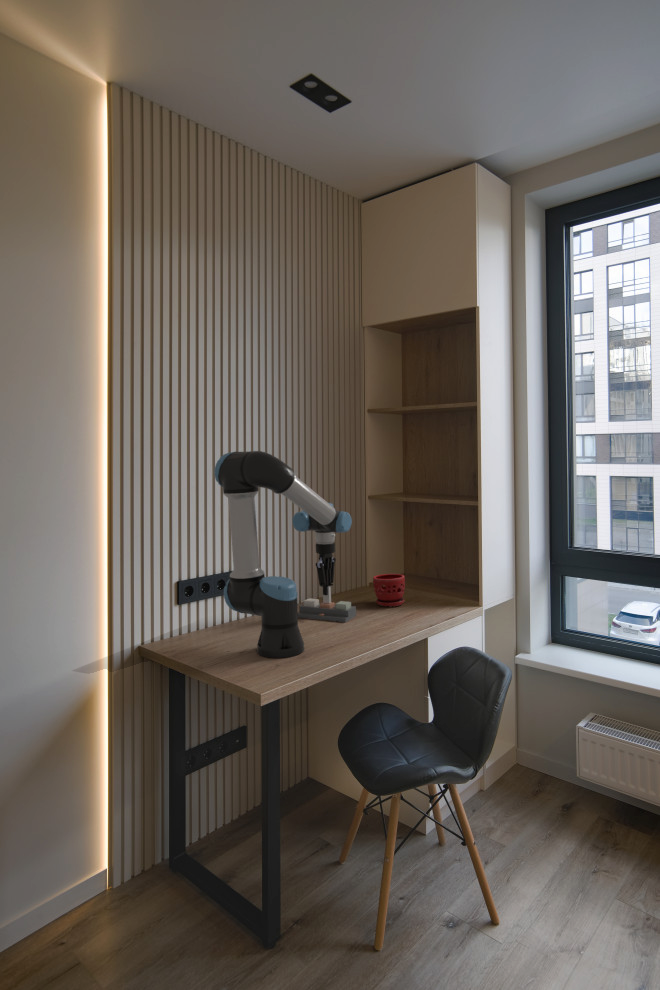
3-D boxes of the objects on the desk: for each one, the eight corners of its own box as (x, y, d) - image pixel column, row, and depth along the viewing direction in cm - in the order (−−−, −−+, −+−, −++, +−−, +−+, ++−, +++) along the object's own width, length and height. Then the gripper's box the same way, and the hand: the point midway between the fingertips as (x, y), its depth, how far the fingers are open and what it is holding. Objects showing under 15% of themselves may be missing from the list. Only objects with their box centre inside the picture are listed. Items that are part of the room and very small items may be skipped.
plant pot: (405, 600, 260) (404, 572, 260) (405, 608, 247) (404, 578, 247) (374, 600, 262) (373, 573, 261) (373, 608, 249) (372, 579, 248)
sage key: (346, 612, 233) (346, 604, 233) (335, 611, 235) (335, 603, 235) (351, 609, 237) (350, 601, 237) (340, 608, 239) (340, 601, 239)
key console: (345, 622, 229) (345, 612, 229) (296, 617, 239) (296, 607, 238) (356, 616, 238) (355, 606, 237) (308, 611, 247) (307, 602, 247)
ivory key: (313, 609, 239) (313, 601, 239) (304, 608, 241) (303, 600, 241) (319, 606, 243) (318, 599, 243) (309, 605, 245) (309, 598, 245)
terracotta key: (330, 612, 236) (329, 605, 236) (319, 611, 238) (319, 604, 238) (335, 610, 240) (334, 602, 240) (325, 609, 242) (324, 601, 242)
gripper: (326, 545, 230) (328, 607, 231) (341, 540, 241) (343, 599, 243) (308, 544, 233) (310, 605, 235) (324, 540, 245) (326, 598, 246)
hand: (327, 602), depth 239 cm, fingers closed
